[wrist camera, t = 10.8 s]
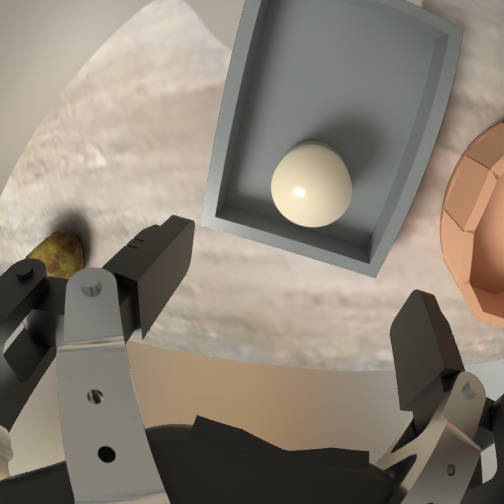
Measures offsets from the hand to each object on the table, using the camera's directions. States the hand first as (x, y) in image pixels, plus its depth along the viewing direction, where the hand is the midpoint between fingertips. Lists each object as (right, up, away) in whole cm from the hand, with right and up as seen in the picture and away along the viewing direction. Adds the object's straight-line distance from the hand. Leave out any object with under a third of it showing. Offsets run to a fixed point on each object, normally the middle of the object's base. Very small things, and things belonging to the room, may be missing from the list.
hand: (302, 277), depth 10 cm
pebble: (+3, +7, +11) cm, 13 cm away
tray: (+4, +11, +9) cm, 15 cm away
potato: (-27, 0, +24) cm, 36 cm away
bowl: (+23, +4, +8) cm, 25 cm away
